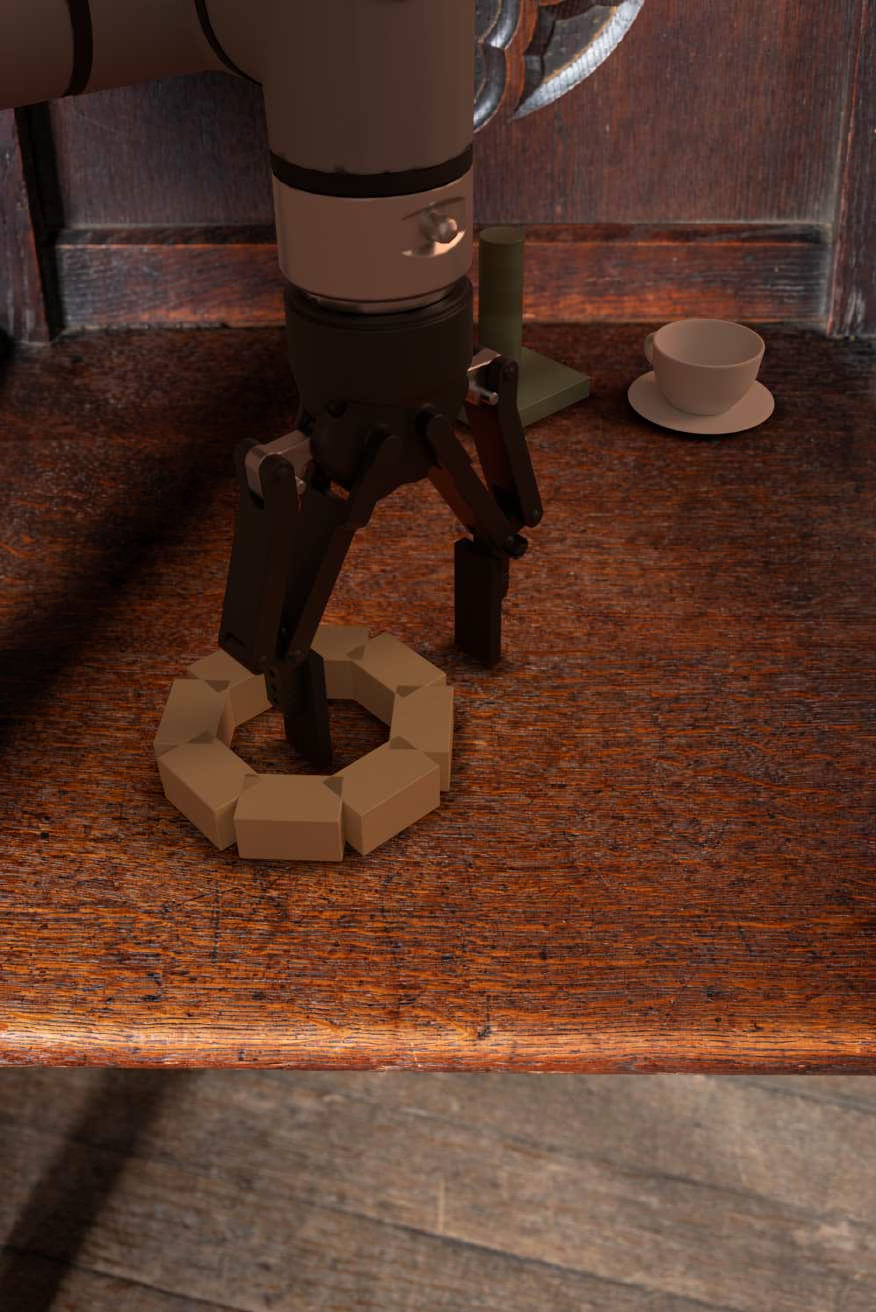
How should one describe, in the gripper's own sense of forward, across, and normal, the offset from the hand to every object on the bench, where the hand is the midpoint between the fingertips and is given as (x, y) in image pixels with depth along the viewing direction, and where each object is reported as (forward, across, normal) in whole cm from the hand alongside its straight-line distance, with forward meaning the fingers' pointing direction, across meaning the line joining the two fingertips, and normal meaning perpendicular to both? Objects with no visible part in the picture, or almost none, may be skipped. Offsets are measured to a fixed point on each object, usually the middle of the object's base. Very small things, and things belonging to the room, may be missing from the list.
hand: (397, 700), depth 63 cm
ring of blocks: (0, -5, 0) cm, 5 cm away
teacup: (0, +36, +10) cm, 37 cm away
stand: (0, +27, +20) cm, 33 cm away
